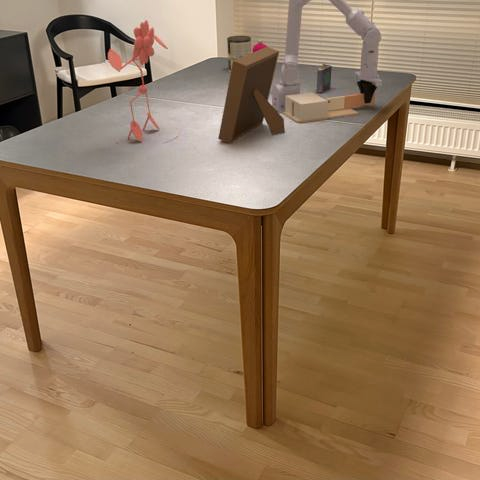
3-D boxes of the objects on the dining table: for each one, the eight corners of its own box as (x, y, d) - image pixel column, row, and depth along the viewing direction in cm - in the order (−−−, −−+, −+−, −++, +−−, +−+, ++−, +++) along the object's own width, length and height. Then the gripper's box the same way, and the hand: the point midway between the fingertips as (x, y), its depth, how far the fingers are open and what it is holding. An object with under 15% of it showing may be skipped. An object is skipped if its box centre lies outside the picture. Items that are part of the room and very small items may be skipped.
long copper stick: (324, 111, 211) (324, 99, 209) (322, 110, 212) (322, 98, 210) (374, 103, 217) (375, 92, 216) (372, 103, 219) (373, 91, 217)
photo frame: (218, 141, 189) (215, 58, 177) (251, 122, 206) (250, 45, 194) (261, 149, 183) (262, 63, 171) (291, 128, 199) (294, 49, 187)
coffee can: (223, 70, 272) (222, 37, 266) (241, 67, 278) (240, 34, 272) (238, 74, 265) (237, 40, 259) (256, 70, 271) (255, 37, 265)
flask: (321, 93, 235) (322, 65, 230) (314, 92, 236) (315, 64, 231) (331, 88, 242) (333, 60, 237) (325, 87, 243) (326, 59, 238)
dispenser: (297, 123, 204) (298, 104, 201) (282, 113, 213) (282, 95, 210) (358, 114, 211) (359, 96, 208) (341, 105, 220) (341, 88, 218)
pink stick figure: (110, 147, 187) (97, 26, 170) (153, 122, 208) (146, 13, 191) (154, 154, 182) (145, 30, 165) (194, 128, 203) (189, 16, 186)
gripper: (391, 66, 205) (387, 106, 212) (368, 57, 217) (365, 95, 224) (372, 68, 203) (369, 108, 210) (350, 59, 215) (348, 98, 222)
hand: (366, 102), depth 217 cm, fingers closed on long copper stick
